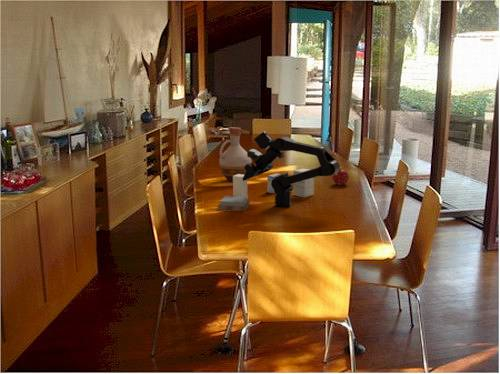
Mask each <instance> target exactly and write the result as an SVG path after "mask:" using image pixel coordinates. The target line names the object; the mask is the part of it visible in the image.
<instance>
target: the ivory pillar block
mask: <svg viewBox="0 0 500 374" xmlns="http://www.w3.org/2000/svg"><path fill="white" fill-rule="evenodd" d="M243 177H244V175H243V174H237V175H234V176H233V183H232V196H245V197H246V199H247V200H248V179H247V180H245V181H243Z"/></svg>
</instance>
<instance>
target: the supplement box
mask: <svg viewBox="0 0 500 374" xmlns="http://www.w3.org/2000/svg"><path fill="white" fill-rule="evenodd" d="M307 170H311V169H309V168H300V169H299V168H298V169H296V170H293V175H294V174H297V173H301V172H304V171H307ZM314 187H315V177H314V178H310V179H307V180H303V181H300V182H296V183H293V195H294V196H297V197H301V198H308V197H310V196H315V195H314V193H315V188H314Z"/></svg>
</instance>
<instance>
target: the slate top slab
mask: <svg viewBox="0 0 500 374" xmlns="http://www.w3.org/2000/svg"><path fill="white" fill-rule="evenodd" d="M219 202H220V203H219V205H220V206H243V204H244V203H245V202H246V197H245V196H233V195H225V196H224V197H223V198H221V200H220V201H219Z"/></svg>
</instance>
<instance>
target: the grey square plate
mask: <svg viewBox="0 0 500 374" xmlns="http://www.w3.org/2000/svg"><path fill="white" fill-rule="evenodd" d="M250 204H251V201H250V200H248V199H247V200H246V202H245V203H244V204H243V206H220V204H219V205H218V206H217V209H218V211H231V212H232V211H233V212H245V211H246V210H247V208H248V207H249V206H250ZM248 205H249V206H248Z"/></svg>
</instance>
